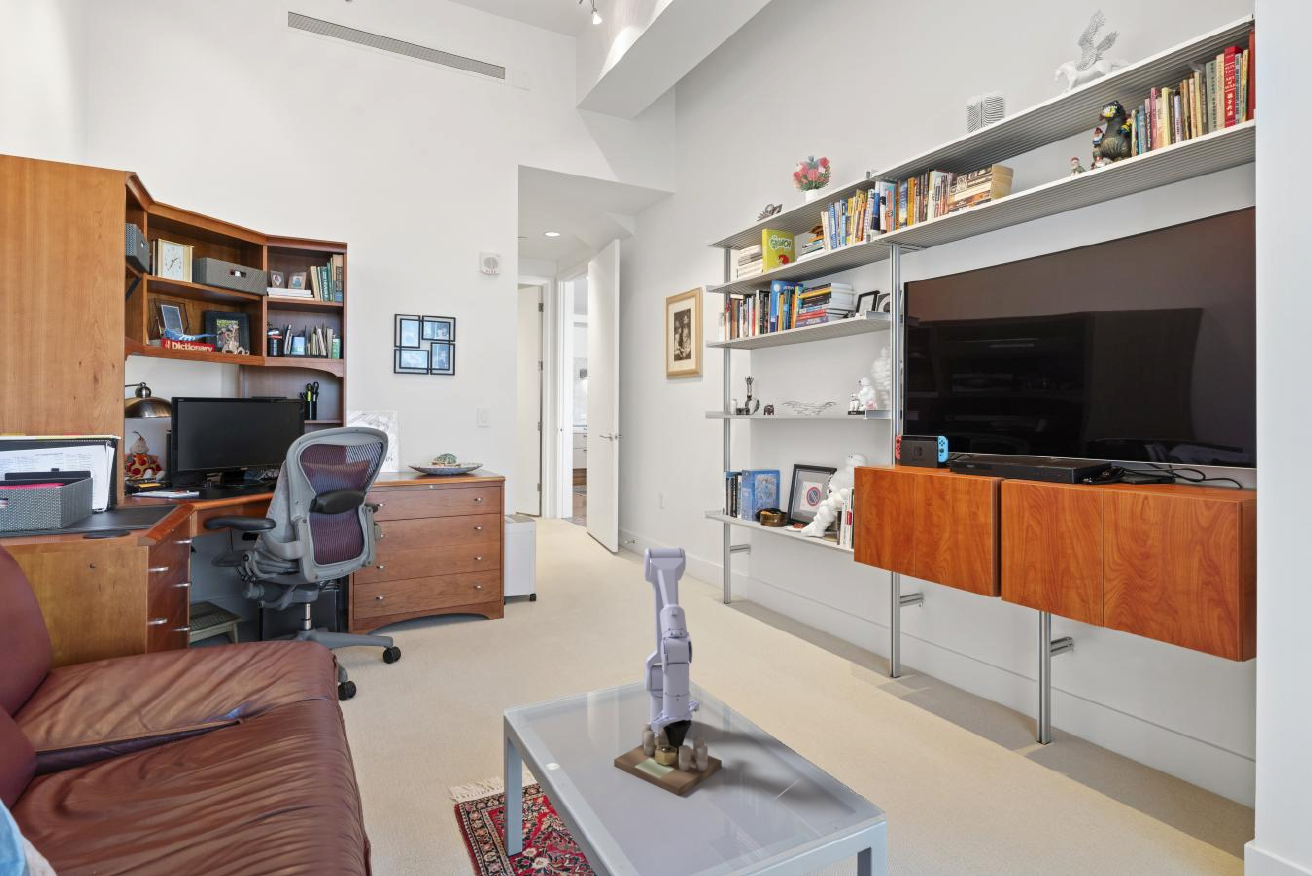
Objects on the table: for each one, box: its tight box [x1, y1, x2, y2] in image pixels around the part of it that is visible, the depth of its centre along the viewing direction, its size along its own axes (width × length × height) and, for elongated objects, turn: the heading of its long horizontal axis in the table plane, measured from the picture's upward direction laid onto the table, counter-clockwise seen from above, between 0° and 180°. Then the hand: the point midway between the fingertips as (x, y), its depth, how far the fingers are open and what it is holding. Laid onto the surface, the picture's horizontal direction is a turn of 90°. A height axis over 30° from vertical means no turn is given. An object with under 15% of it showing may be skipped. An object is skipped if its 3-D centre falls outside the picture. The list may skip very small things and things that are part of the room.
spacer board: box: [613, 723, 723, 796], centre depth 152 cm, size 15×18×6 cm
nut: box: [655, 745, 677, 765], centre depth 151 cm, size 4×5×2 cm
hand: (675, 752), depth 154 cm, fingers closed
